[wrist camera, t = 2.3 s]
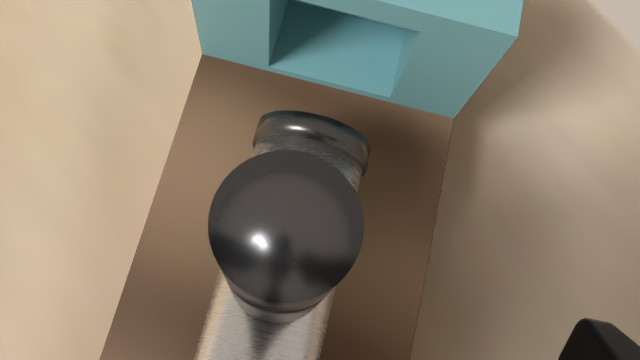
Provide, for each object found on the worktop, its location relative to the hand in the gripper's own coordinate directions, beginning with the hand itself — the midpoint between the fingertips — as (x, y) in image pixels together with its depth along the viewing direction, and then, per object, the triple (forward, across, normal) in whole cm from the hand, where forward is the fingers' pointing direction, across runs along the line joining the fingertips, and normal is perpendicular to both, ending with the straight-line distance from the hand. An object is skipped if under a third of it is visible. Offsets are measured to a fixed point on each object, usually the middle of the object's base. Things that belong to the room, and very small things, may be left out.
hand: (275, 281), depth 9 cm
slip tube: (+4, 0, +7) cm, 7 cm away
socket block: (+12, 0, 0) cm, 12 cm away
